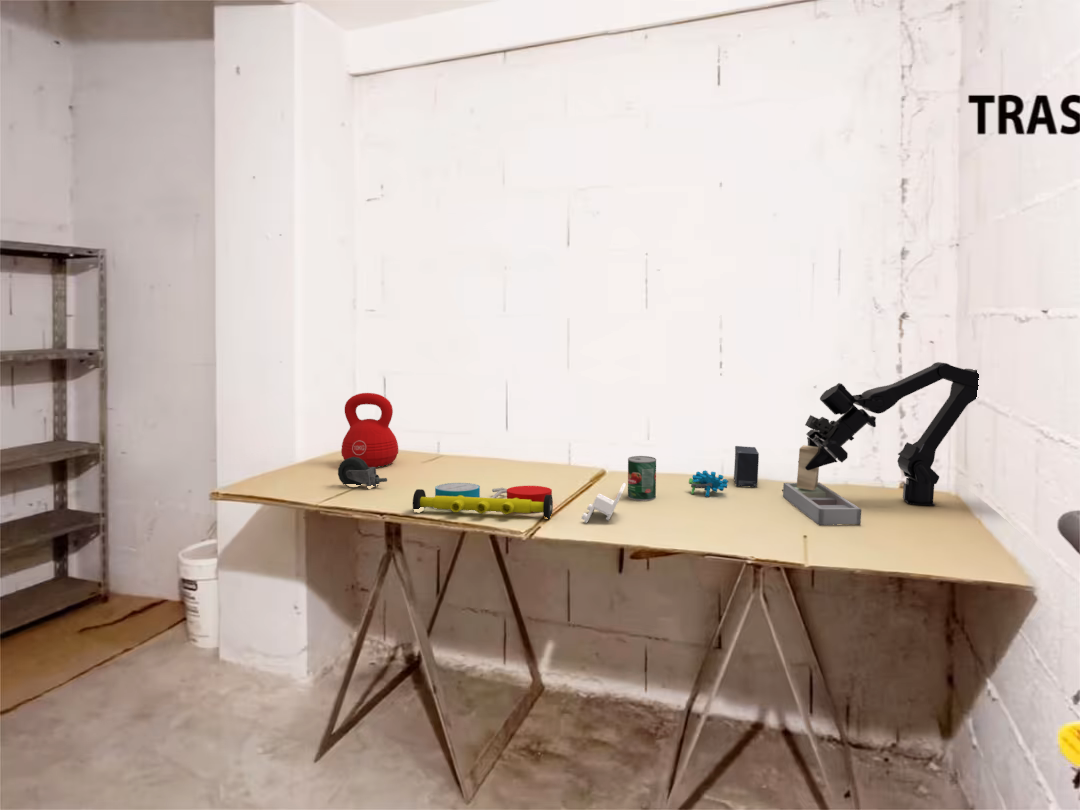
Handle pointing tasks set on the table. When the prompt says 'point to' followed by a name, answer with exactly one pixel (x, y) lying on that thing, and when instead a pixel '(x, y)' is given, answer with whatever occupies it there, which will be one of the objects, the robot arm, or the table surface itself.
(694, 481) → the blue spiky toy
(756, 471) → the small box
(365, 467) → the caster wheel
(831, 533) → the table surface
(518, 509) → the hvac manifold gauge set
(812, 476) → the beech block
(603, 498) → the mounting bracket
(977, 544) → the table surface
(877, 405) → the robot arm
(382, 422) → the kettlebell
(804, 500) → the tray
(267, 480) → the table surface
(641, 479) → the canned tomato
